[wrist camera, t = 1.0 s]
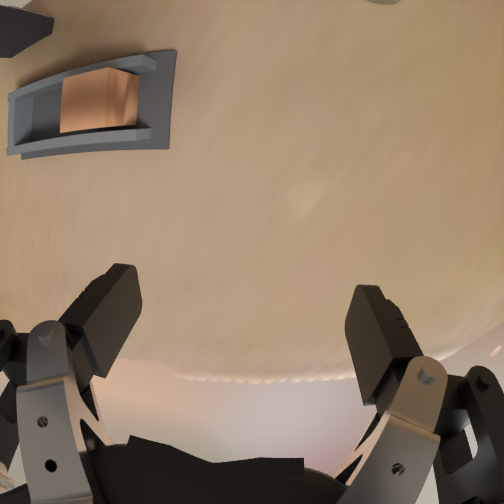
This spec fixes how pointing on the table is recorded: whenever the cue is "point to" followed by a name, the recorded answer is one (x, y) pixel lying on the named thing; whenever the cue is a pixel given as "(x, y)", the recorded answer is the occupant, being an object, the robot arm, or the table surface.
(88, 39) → the table surface
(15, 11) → the dark grey upright box
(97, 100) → the block
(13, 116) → the chute
